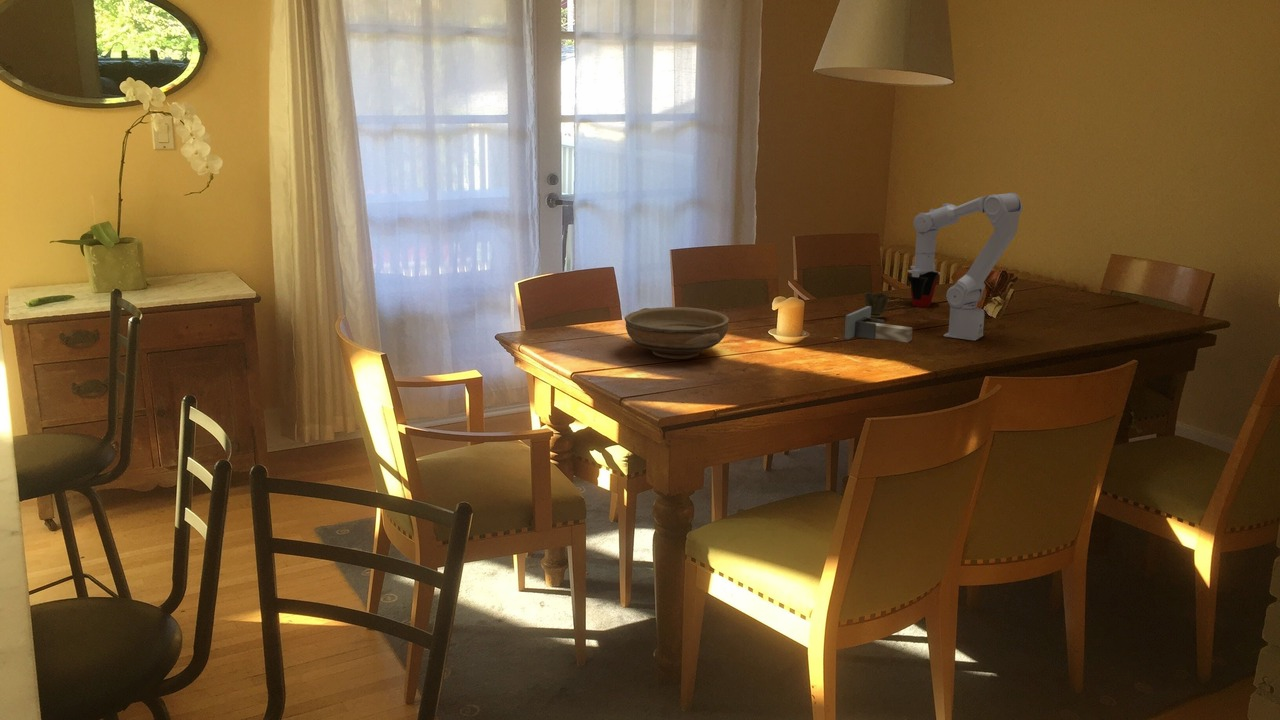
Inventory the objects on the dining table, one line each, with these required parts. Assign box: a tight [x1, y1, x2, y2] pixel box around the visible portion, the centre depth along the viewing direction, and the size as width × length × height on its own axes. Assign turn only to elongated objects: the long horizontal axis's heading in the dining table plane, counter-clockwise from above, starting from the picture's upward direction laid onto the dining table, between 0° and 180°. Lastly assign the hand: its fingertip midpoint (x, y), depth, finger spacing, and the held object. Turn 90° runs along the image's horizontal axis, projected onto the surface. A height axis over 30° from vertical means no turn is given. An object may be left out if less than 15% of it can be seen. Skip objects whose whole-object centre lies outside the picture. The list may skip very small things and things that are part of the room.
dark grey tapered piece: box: [864, 291, 890, 319], centre depth 321 cm, size 8×7×8 cm
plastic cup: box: [907, 269, 942, 308], centre depth 340 cm, size 11×11×12 cm
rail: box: [868, 322, 913, 343], centre depth 296 cm, size 14×4×4 cm, turn 56°
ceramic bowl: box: [624, 306, 730, 360], centre depth 279 cm, size 37×29×10 cm
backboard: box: [844, 306, 871, 340], centre depth 301 cm, size 1×16×7 cm, turn 145°
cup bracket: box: [853, 317, 885, 340], centre depth 299 cm, size 6×7×4 cm
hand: (921, 297), depth 308 cm, fingers open, 7 cm apart
